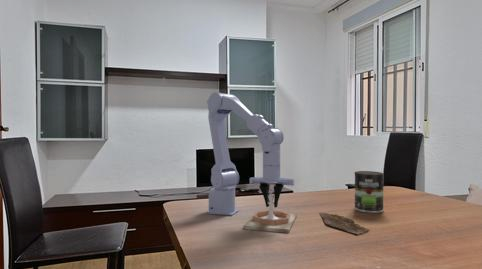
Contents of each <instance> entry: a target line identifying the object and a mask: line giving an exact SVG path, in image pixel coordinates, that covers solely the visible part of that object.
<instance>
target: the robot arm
mask: <svg viewBox="0 0 482 269" xmlns="http://www.w3.org/2000/svg"><path fill="white" fill-rule="evenodd" d="M206 104H207V109H208V110H207V111H208V114H207V115H208V116H207V117H208V118H207V119H208V124H209V130H210V131H209V132H210V136H211V137H210V138H211V142H212V147H213V148H212V149H213V155H214V162H215V164H214V165H213V166H212V168H211V169H210V170H211V172H210V173H211V175H210V183H211V185H212V188H210V189H209V191H208V212H207V214H209V215H210V214H211V215H220V216H221V215H222V216H234V215H235V214H236V213H237V212H239V210H240V209H239V208H236V188H237V185H238V184H239V182H240V175H239V172H238V170H237V168H236V167H237V166H236V165H235V163H233V162H232V161H231V157H230V152H229V151H230V150H229V145H228V140H227V134H226V127H225V121H224V120H225V118H227V117H228V116H229V115H230V114H231V113H233V112H234V114H236V115H237V116H238V117H240V118H241V119H242V120H243V121H245V122H246V127H247V129H249V130H250V131H251V132H252V133H254V135H255V136H256V137H257V138H258V141H259V143H260V145H261V150H262V177H261V176H260V177H254V176H253V177H250V178H249V185H254V184H255V185H259V190H260V191H261V193H262V196H263V199H264V203H265V207H266V208H268V207H269V206H270V204H268V202H269V198H268V195H270V193H268V192H269V191H270V185H274V186H273V191H274V193H273V195H274V198H273V202H274V204H273V208H278V204H279V200H280V199H279V198H280V195H281V193H282V191H283V188H284V186H292V187H293V186H295V178H285V177H281V144H282V143H283V142H284V138H285V136H284V134H283V131H282V130H281V129H280V128H278V127H274V126H273V124H272V123H269V122H268V121H266V120H265V119H264V116H263V114H253V113H252V112H251V111H250V110H249V109H248V108H247V107H246V106H245V104H243V103H242V102H241V101H240V99H239V97H237V96H235V95H234V94H232V93H230V94H229V93H222V92H219V91H218V92H217V91H214V92H211V94H210V95H209V96H208V99H207V100H206Z"/></svg>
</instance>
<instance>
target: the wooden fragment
mask: <svg viewBox="0 0 482 269" xmlns="http://www.w3.org/2000/svg"><path fill="white" fill-rule="evenodd" d="M319 215H320V216H321V218H322V219H323V222H324V223H325V225H327V226H330V227H333V228H335V229H336V228H337V229H339V230H342V231H345V232H348V233H352V234H355V235H356V236H361V235H365V234H366V233H368V232H369V231H370V229H368V228H367V227H364V226H361V225H360V224H359V223H358V224H357V223H355V220H353V219H350V218H348V217H345V216H343V215H339V214H337V213H335V214H333V213H326V212H319Z"/></svg>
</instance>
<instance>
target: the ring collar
mask: <svg viewBox="0 0 482 269" xmlns="http://www.w3.org/2000/svg"><path fill="white" fill-rule="evenodd" d="M273 213H274V215H275V216H282V217H284V218H281V219H262V218H260V216H267V215H268V214H269V209H268V210H261V211H259V212H258V211H255V213H254V214H253V215H252V217H253V220H254V221H256V222H258V223H260V224H268V225H279V224H285V223H289V221H290V214H291V213H289V212H285V211H283V210H273Z"/></svg>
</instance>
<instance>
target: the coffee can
mask: <svg viewBox="0 0 482 269" xmlns="http://www.w3.org/2000/svg"><path fill="white" fill-rule="evenodd" d="M384 175H385V174H384V173H383V172H381V171H380V172H379V171H372V170H371V171H368V170H358V171H354V210H356V211H357V212H361V213H362V212H363V213H368V214H379V213H383V212H384Z"/></svg>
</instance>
